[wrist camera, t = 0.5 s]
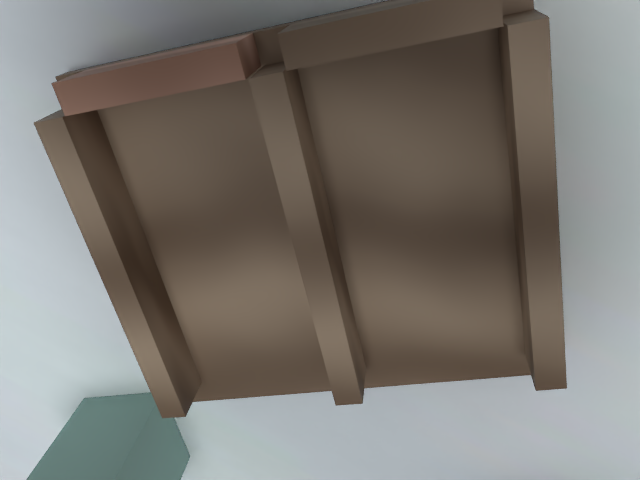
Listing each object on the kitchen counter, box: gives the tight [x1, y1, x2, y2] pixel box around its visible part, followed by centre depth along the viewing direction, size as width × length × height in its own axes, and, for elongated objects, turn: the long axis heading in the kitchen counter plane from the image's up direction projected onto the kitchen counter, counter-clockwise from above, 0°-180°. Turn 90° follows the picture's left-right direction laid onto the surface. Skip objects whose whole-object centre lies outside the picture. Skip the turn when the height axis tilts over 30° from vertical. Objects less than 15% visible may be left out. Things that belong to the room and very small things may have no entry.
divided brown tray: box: [34, 0, 567, 418], centre depth 20 cm, size 14×15×3 cm
